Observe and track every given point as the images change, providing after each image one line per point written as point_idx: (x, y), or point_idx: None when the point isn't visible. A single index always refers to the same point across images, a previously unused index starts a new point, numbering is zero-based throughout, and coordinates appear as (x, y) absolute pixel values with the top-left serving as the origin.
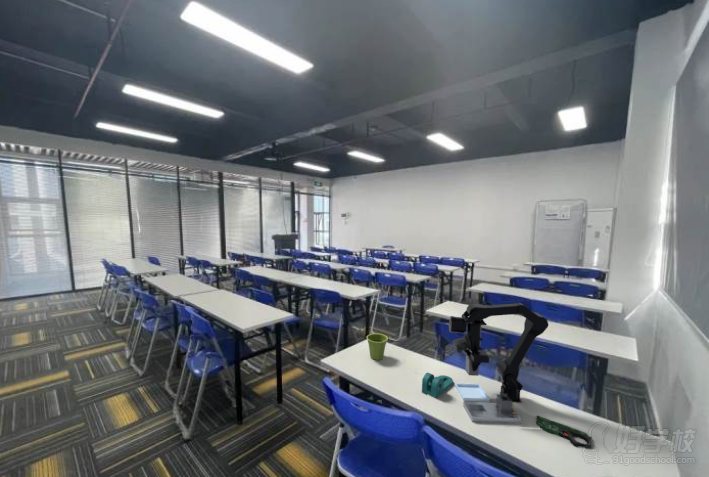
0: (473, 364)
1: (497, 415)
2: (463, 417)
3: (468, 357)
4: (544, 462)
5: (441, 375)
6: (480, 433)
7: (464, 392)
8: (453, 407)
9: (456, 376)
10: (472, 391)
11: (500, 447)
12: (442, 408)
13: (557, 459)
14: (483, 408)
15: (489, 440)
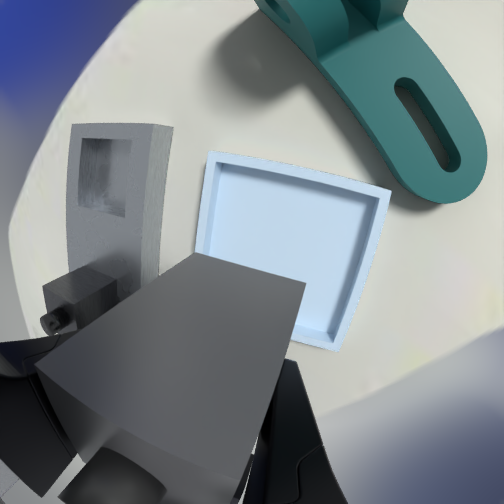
0: (53, 342)
1: (73, 239)
2: (119, 101)
3: (106, 425)
4: (16, 247)
5: (486, 151)
6: (60, 135)
7: (297, 209)
8: (182, 76)
9: (477, 280)
10: (298, 270)
11: (31, 170)
12: (184, 24)
13: (25, 282)
14: (116, 212)
15: (43, 151)
